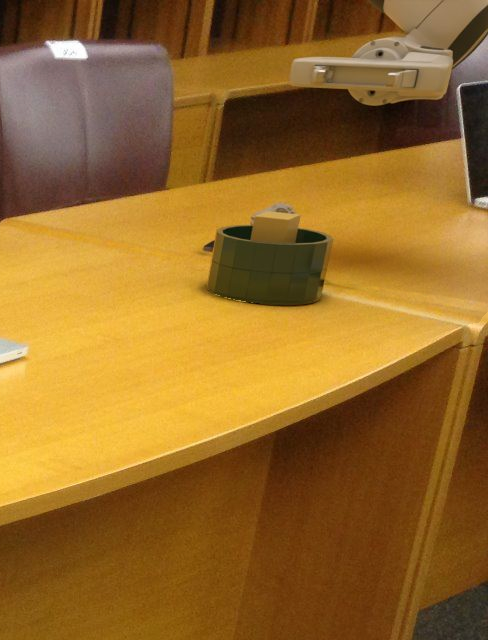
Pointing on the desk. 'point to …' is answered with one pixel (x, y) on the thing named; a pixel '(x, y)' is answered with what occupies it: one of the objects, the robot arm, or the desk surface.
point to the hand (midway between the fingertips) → (354, 78)
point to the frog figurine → (275, 210)
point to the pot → (269, 267)
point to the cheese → (275, 227)
